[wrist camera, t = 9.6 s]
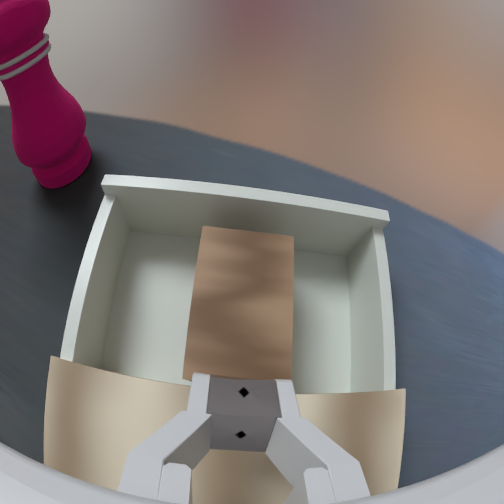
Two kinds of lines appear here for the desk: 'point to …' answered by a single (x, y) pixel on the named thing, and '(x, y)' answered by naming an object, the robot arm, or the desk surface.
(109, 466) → the beige box sleeve
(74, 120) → the pepper mill
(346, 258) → the tray
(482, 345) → the desk surface
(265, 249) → the walnut block
